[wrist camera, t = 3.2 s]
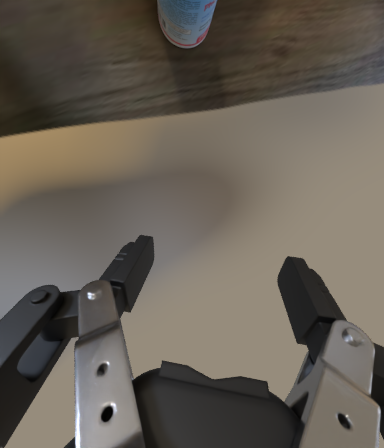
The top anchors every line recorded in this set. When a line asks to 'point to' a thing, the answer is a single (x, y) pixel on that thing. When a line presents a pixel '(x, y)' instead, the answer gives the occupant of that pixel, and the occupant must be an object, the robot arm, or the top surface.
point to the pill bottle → (185, 20)
